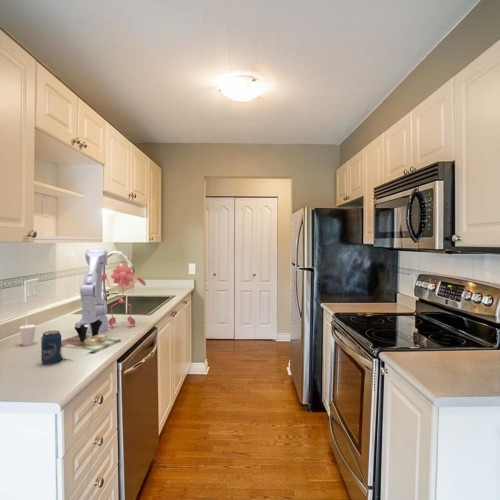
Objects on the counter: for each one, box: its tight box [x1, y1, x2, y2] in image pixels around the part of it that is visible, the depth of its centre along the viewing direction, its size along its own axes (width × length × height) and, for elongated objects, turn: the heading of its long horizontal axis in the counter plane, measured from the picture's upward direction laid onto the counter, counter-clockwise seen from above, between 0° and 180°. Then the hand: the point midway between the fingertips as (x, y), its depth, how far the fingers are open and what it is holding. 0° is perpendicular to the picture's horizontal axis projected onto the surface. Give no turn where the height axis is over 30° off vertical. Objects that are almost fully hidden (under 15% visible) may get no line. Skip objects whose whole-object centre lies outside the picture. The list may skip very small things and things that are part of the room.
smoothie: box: [19, 316, 37, 347], centre depth 152 cm, size 6×6×14 cm
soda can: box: [40, 330, 63, 366], centre depth 134 cm, size 7×7×12 cm
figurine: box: [102, 264, 146, 330], centre depth 192 cm, size 15×26×35 cm, turn 98°
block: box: [84, 333, 108, 346], centre depth 155 cm, size 9×5×2 cm, turn 165°
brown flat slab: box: [61, 334, 122, 355], centre depth 157 cm, size 18×24×2 cm
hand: (88, 339), depth 156 cm, fingers open, 7 cm apart
